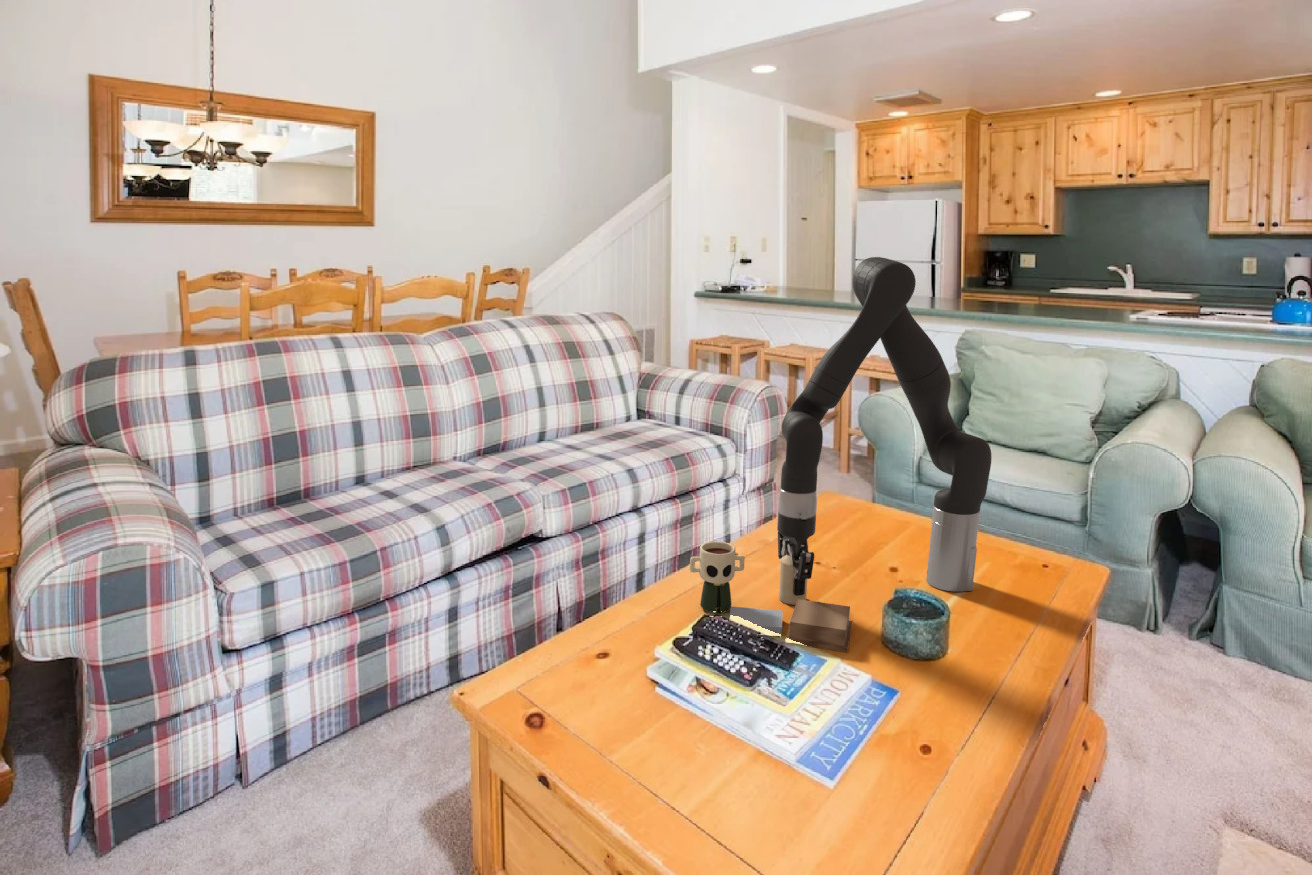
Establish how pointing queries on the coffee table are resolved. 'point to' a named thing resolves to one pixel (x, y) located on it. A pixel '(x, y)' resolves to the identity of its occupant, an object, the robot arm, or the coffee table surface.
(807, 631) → the stand
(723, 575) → the character mug
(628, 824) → the coffee table surface
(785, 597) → the candle
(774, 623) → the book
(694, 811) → the coffee table surface
